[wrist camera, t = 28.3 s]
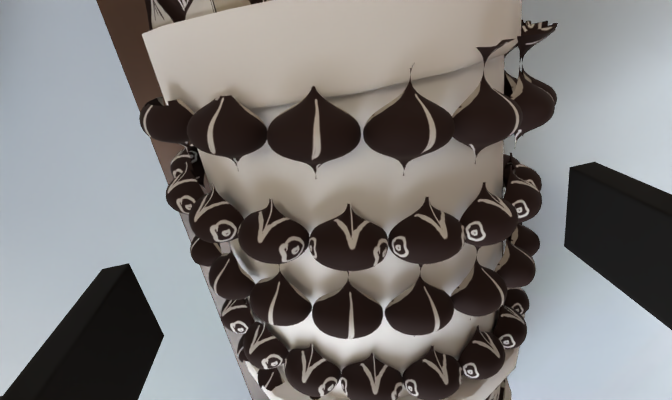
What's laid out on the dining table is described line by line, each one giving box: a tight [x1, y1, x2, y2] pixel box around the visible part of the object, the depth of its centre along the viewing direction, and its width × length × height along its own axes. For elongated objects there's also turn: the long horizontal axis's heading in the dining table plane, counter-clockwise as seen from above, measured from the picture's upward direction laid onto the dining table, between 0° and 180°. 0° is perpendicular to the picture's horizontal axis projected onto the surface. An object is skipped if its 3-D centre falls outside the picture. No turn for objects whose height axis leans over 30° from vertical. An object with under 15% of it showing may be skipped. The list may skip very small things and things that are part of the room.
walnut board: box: [96, 0, 503, 400], centre depth 16 cm, size 30×13×1 cm, turn 11°
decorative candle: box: [139, 0, 558, 400], centre depth 12 cm, size 9×9×25 cm
